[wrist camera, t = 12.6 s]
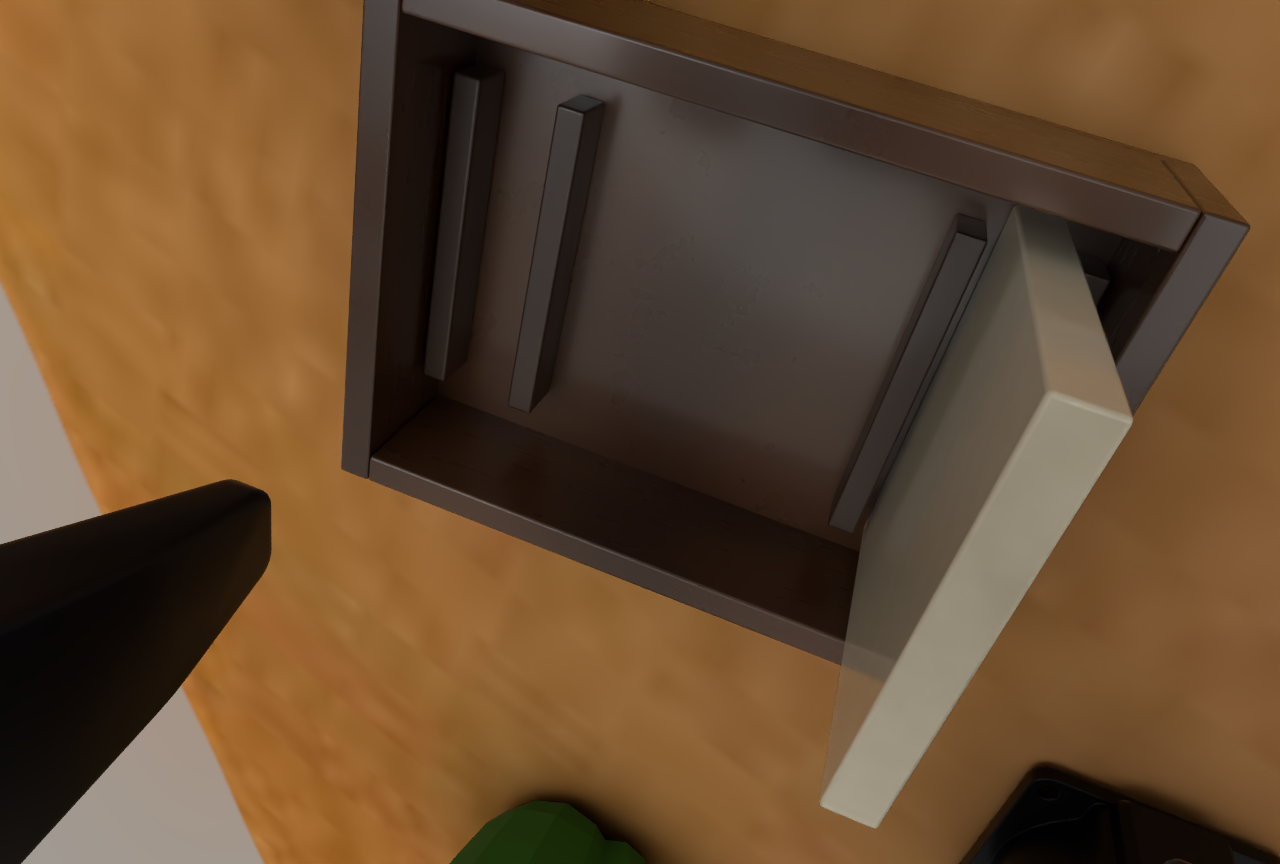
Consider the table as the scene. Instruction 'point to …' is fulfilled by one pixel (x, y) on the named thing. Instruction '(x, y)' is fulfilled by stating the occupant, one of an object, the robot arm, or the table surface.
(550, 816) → the bell pepper
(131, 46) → the table surface
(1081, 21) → the table surface
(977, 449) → the cream coaster
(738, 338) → the coaster holder
